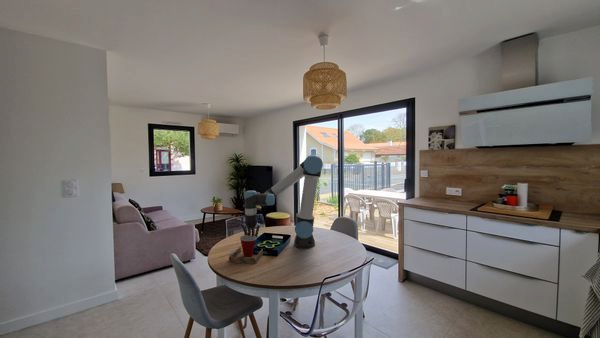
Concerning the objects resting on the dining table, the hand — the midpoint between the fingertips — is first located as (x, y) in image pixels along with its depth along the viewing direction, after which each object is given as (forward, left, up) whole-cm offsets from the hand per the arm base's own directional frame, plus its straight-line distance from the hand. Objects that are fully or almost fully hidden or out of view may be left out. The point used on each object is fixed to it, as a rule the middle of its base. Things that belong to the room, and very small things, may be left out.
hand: (251, 248), depth 164 cm
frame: (0, +8, -2) cm, 9 cm away
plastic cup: (0, +6, -2) cm, 6 cm away
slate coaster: (+11, +4, -2) cm, 12 cm away
